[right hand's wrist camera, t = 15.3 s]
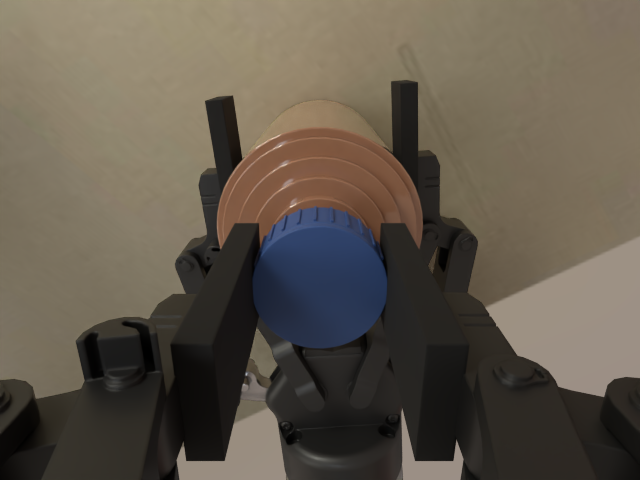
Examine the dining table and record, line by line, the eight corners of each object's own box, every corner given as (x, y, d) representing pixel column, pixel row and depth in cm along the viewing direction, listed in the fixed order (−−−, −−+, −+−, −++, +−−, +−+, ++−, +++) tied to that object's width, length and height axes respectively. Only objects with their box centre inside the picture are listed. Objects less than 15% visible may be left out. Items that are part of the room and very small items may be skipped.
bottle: (379, 95, 28) (461, 139, 12) (381, 217, 30) (450, 386, 14) (252, 104, 28) (160, 159, 12) (265, 224, 31) (207, 400, 15)
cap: (380, 200, 14) (389, 219, 12) (383, 315, 15) (391, 346, 13) (250, 209, 14) (240, 229, 12) (264, 322, 15) (258, 354, 14)
